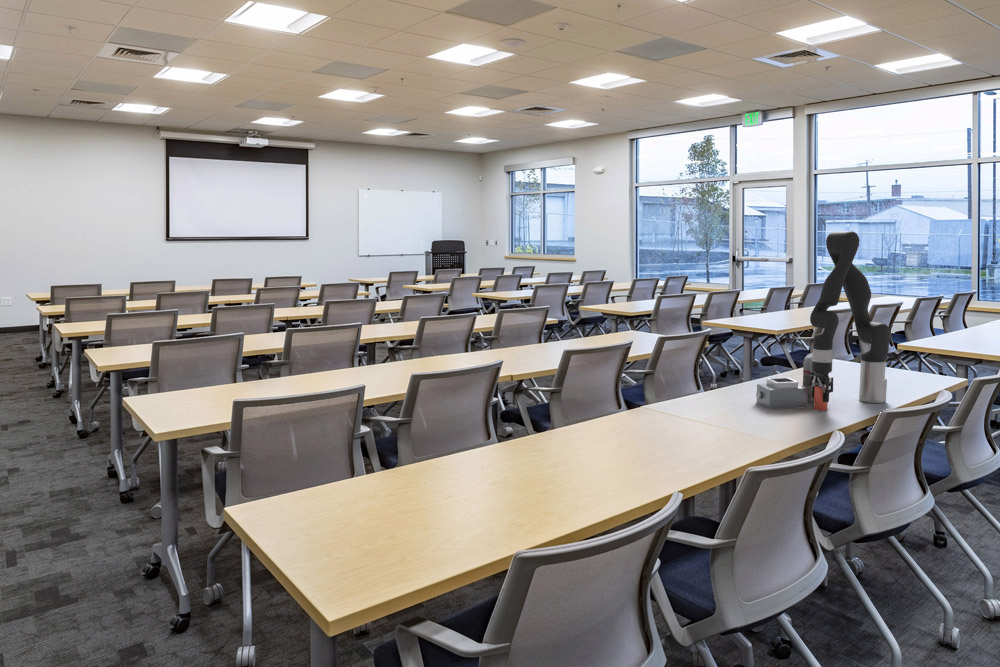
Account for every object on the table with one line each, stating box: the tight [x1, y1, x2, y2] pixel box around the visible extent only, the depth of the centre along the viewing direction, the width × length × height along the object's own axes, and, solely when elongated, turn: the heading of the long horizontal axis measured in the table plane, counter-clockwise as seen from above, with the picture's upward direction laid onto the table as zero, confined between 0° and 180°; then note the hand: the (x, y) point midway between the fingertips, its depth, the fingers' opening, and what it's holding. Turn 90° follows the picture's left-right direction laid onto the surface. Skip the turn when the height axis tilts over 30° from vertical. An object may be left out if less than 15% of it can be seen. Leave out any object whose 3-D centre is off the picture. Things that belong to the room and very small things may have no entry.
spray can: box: [802, 352, 814, 403], centre depth 301 cm, size 8×8×20 cm
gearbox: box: [755, 377, 808, 410], centre depth 296 cm, size 17×12×10 cm
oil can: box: [813, 383, 829, 412], centre depth 288 cm, size 5×5×11 cm
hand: (820, 399), depth 288 cm, fingers open, 8 cm apart
